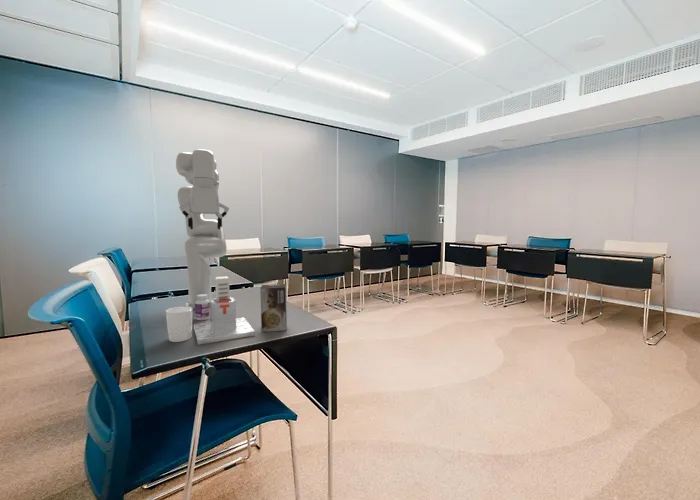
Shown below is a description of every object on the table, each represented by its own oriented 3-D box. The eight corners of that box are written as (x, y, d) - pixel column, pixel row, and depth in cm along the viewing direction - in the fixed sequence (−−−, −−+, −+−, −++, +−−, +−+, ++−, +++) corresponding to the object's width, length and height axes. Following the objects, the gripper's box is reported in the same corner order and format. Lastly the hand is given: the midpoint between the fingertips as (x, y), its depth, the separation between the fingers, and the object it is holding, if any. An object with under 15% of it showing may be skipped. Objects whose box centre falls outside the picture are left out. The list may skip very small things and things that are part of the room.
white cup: (165, 344, 102) (164, 313, 101) (168, 336, 109) (167, 307, 108) (192, 341, 105) (191, 311, 104) (194, 333, 113) (193, 305, 112)
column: (215, 326, 115) (214, 277, 113) (228, 324, 117) (227, 276, 116) (217, 330, 111) (216, 279, 109) (231, 328, 113) (229, 278, 112)
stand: (193, 328, 118) (192, 294, 117) (244, 321, 127) (243, 290, 125) (197, 344, 102) (196, 306, 101) (254, 335, 111) (254, 300, 110)
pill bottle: (204, 321, 126) (203, 297, 125) (192, 320, 127) (191, 296, 126) (212, 317, 131) (212, 294, 130) (201, 316, 132) (200, 293, 131)
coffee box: (287, 325, 122) (286, 283, 121) (286, 330, 116) (286, 287, 115) (262, 326, 121) (261, 284, 119) (260, 332, 115) (260, 287, 113)
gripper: (226, 186, 129) (227, 228, 130) (178, 183, 120) (179, 229, 121) (229, 184, 122) (230, 229, 123) (178, 181, 114) (180, 229, 115)
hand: (205, 229), depth 122 cm, fingers open, 9 cm apart
